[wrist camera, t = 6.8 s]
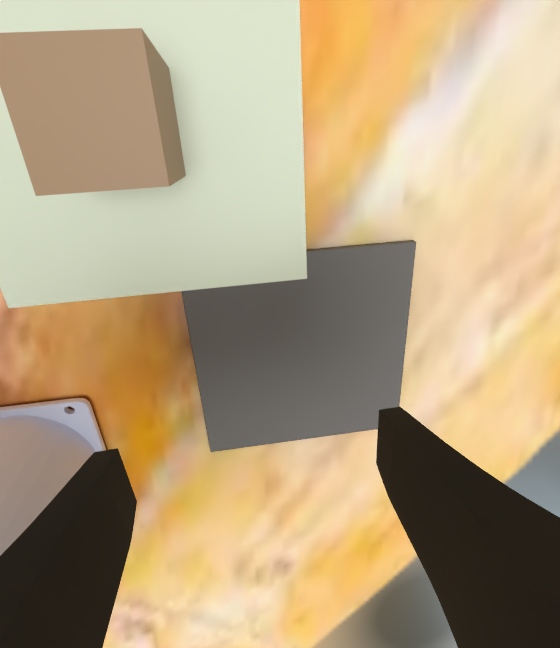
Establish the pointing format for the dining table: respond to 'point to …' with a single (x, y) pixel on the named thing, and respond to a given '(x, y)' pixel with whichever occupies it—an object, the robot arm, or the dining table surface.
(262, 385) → the mat
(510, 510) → the robot arm
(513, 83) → the dining table surface
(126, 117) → the lid
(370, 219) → the dining table surface
